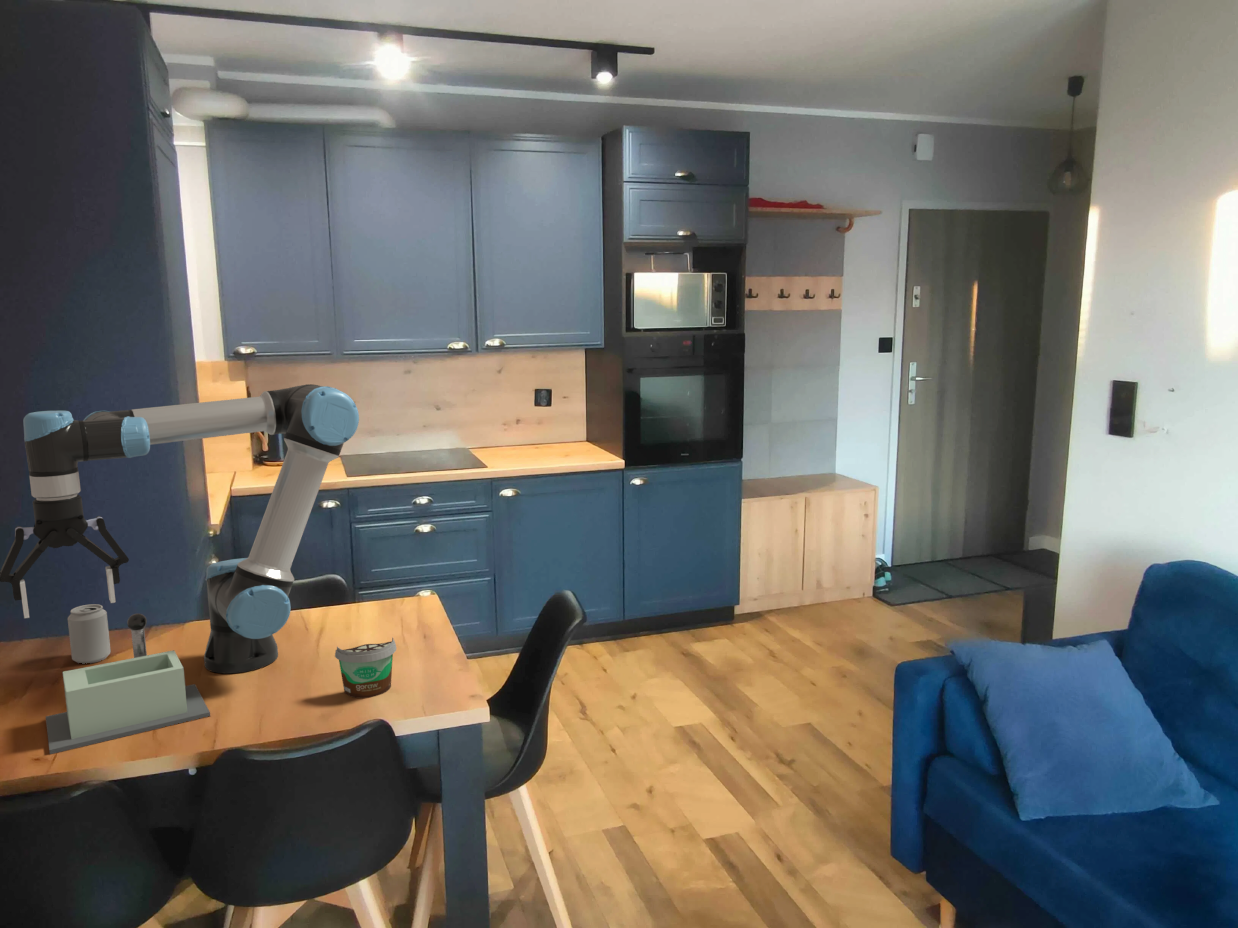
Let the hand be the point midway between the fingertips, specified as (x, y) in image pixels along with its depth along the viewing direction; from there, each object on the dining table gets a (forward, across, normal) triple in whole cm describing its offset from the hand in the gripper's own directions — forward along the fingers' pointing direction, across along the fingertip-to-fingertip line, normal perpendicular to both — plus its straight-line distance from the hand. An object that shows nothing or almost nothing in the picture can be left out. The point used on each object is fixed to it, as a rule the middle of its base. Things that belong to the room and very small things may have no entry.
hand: (70, 608), depth 162 cm
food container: (+23, -48, +20) cm, 57 cm away
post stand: (+22, -12, -14) cm, 29 cm away
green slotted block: (+22, -7, +4) cm, 23 cm away
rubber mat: (+22, -7, +4) cm, 24 cm away
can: (+23, -5, -35) cm, 42 cm away
